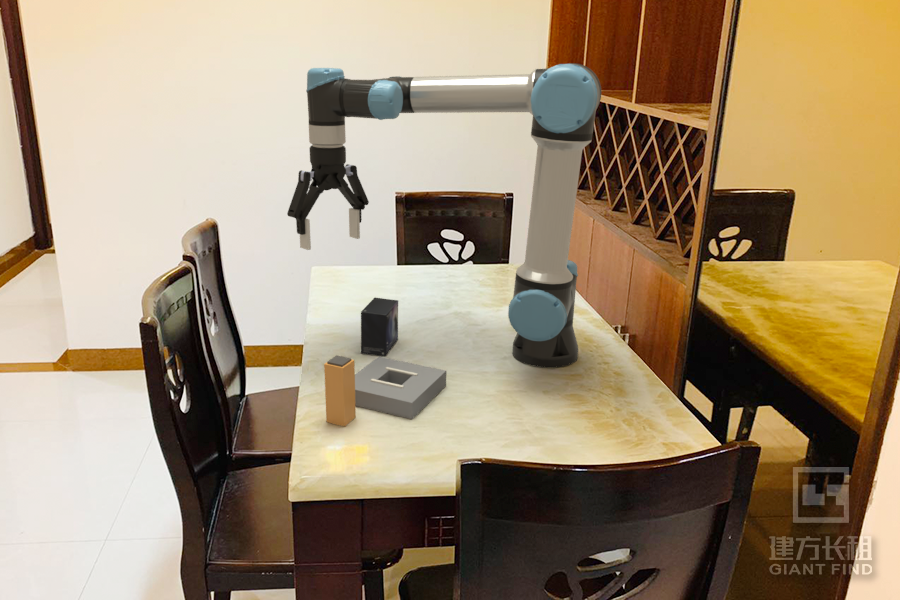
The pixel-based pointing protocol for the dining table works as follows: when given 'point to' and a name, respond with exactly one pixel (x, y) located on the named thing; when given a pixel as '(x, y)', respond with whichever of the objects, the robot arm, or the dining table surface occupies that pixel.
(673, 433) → the dining table surface
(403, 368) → the socket
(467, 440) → the dining table surface
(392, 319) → the small box
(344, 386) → the plug
